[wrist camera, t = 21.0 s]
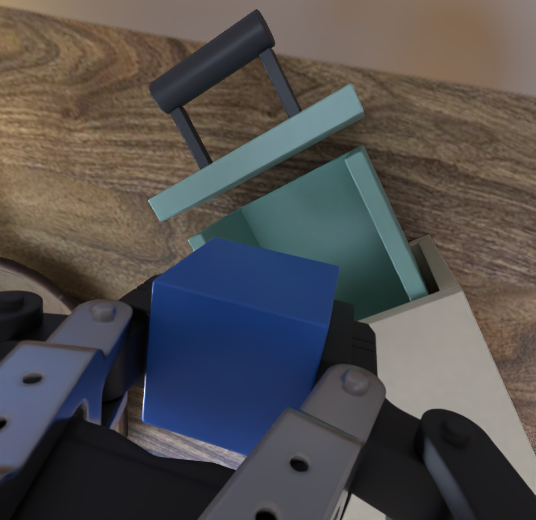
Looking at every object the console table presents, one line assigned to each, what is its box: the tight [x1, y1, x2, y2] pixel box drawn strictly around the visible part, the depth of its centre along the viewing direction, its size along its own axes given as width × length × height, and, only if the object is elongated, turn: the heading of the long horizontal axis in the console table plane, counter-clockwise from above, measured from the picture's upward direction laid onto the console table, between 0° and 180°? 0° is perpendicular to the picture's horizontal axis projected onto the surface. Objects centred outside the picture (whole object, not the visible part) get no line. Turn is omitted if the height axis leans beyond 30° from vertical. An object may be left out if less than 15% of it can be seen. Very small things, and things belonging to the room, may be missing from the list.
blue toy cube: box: [142, 237, 340, 456], centre depth 11 cm, size 4×4×4 cm
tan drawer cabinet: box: [343, 234, 536, 520], centre depth 24 cm, size 16×12×10 cm
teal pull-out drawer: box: [148, 9, 431, 321], centre depth 22 cm, size 19×10×8 cm, turn 28°
